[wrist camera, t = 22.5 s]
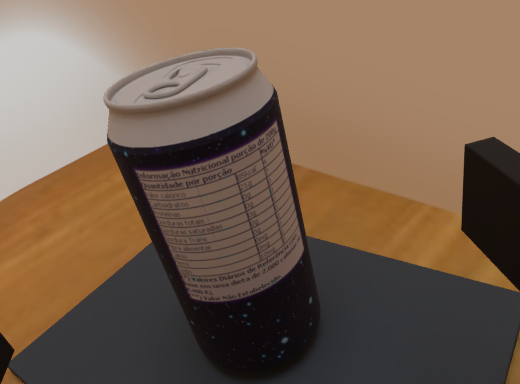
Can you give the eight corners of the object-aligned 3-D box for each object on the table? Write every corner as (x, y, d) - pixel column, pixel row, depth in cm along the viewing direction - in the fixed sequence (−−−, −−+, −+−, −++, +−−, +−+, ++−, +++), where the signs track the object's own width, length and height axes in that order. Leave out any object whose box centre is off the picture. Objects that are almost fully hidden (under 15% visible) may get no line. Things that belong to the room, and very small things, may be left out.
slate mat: (526, 303, 18) (528, 294, 18) (410, 734, 10) (409, 729, 9) (197, 212, 30) (194, 205, 30) (11, 371, 22) (5, 364, 21)
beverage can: (338, 292, 20) (294, 36, 14) (298, 401, 16) (213, 107, 10) (234, 275, 23) (159, 52, 17) (177, 366, 19) (50, 114, 13)
